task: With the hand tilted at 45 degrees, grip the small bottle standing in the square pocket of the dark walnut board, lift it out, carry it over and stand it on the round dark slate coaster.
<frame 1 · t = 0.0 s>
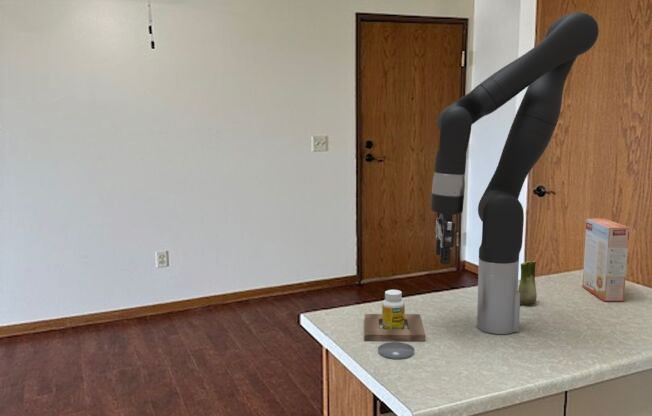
hand: (442, 259, 138), 17 cm above the counter, tool pointing down, fingers open, 8 cm apart
coaster: (396, 351, 127), on the counter
cracker box: (602, 294, 164), on the counter
fennel bulb: (526, 304, 157), on the counter
supplement bottle: (393, 330, 140), resting in pocket board
pocket board: (393, 329, 140), on the counter
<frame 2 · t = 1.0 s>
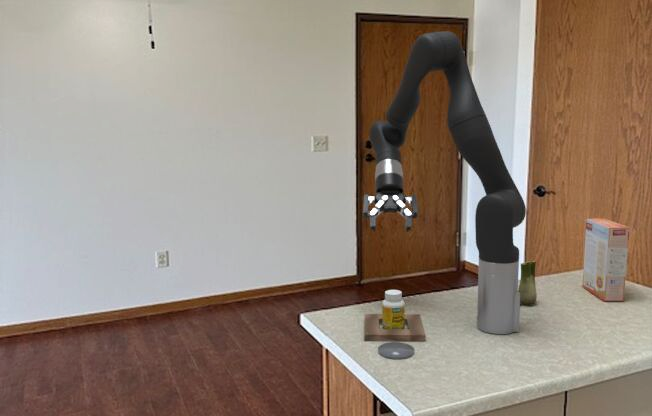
hand: (390, 230, 148), 22 cm above the counter, tool tilted 45°, fingers open, 8 cm apart
nothing on the counter moved.
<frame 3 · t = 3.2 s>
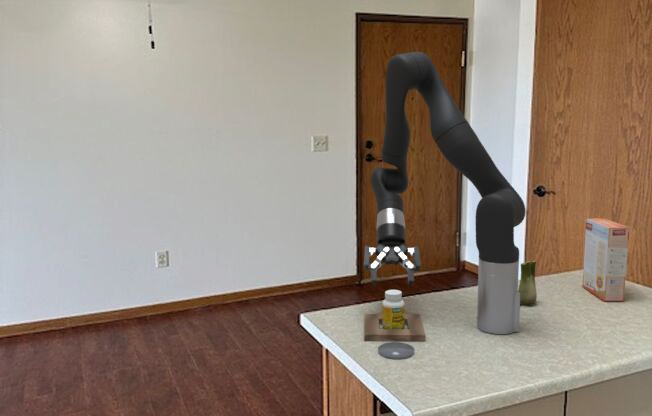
hand: (392, 284, 143), 10 cm above the counter, tool tilted 45°, fingers open, 8 cm apart
nothing on the counter moved.
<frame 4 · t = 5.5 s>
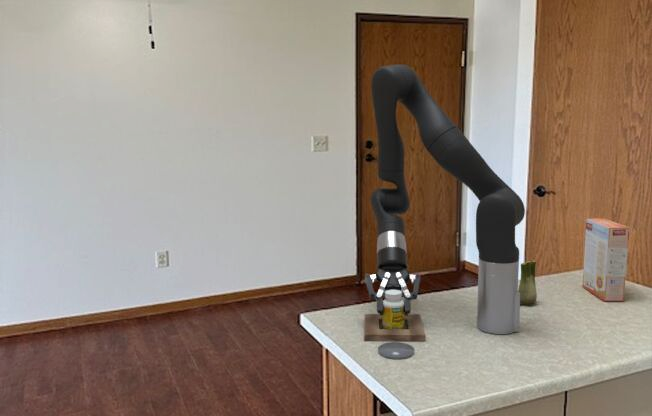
hand: (393, 313, 138), 5 cm above the counter, tool tilted 45°, fingers closed on supplement bottle, 5 cm apart
supplement bottle: (393, 330, 140), resting in pocket board, touching gripper
everything else where it was.
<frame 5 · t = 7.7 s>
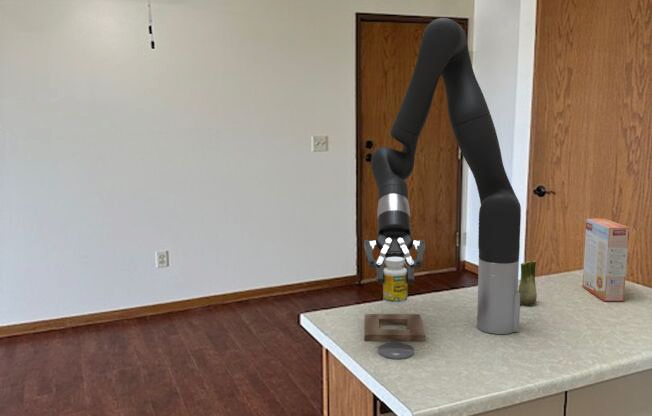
hand: (395, 282, 124), 16 cm above the counter, tool tilted 45°, fingers closed on supplement bottle, 5 cm apart
supplement bottle: (395, 302, 127), point 11 cm above the counter, touching gripper
everything else where it was.
when the fingers open (6 cm above the counter, at t = 10.1 s): supplement bottle stays where it is, resting on coaster.
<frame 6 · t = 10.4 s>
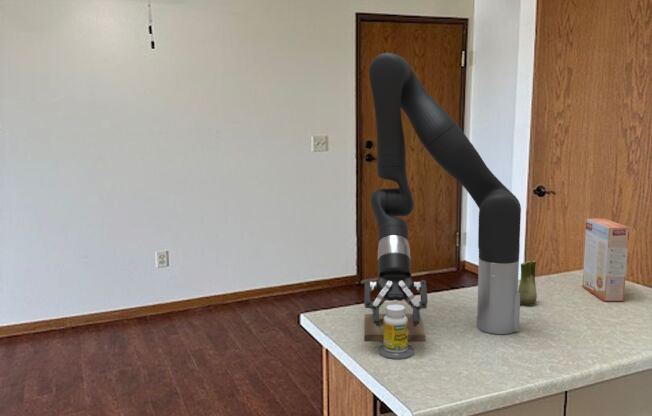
hand: (396, 324, 125), 7 cm above the counter, tool tilted 45°, fingers open, 7 cm apart
supplement bottle: (395, 349, 128), resting on coaster
everything else where it was.
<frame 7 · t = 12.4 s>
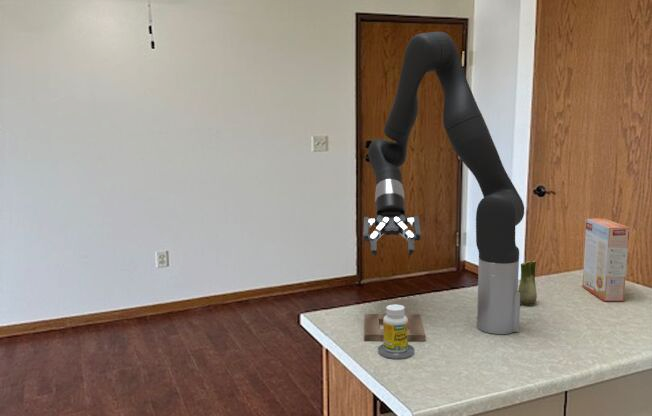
hand: (392, 253, 141), 18 cm above the counter, tool tilted 45°, fingers open, 8 cm apart
nothing on the counter moved.
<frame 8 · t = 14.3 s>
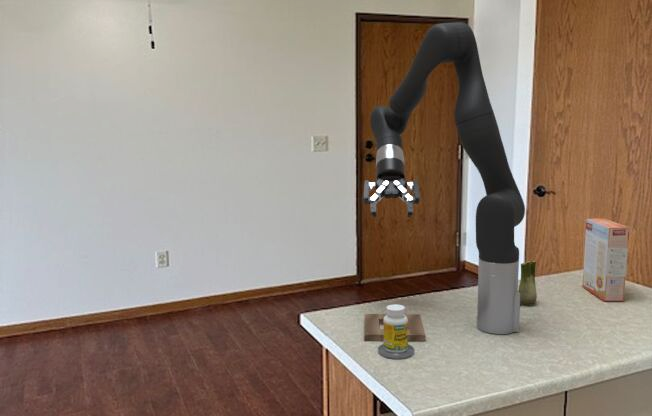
hand: (392, 215, 144), 27 cm above the counter, tool tilted 45°, fingers open, 8 cm apart
nothing on the counter moved.
at the end: supplement bottle 0.2 cm from the coaster (horizontally); supplement bottle tilted 0°; the gripper is holding nothing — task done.
